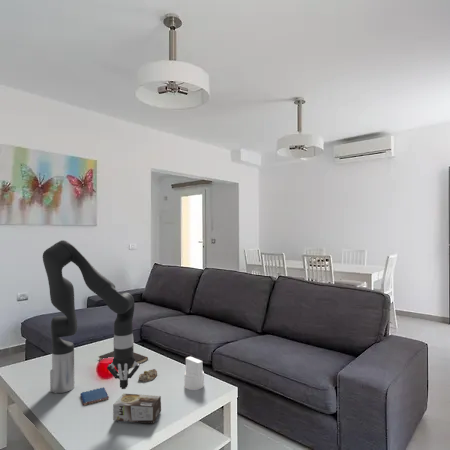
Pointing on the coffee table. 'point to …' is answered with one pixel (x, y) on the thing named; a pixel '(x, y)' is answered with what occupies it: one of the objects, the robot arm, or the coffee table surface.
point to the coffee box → (137, 408)
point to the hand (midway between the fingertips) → (124, 388)
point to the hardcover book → (137, 357)
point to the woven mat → (94, 396)
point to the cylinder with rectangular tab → (194, 374)
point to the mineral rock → (148, 375)
